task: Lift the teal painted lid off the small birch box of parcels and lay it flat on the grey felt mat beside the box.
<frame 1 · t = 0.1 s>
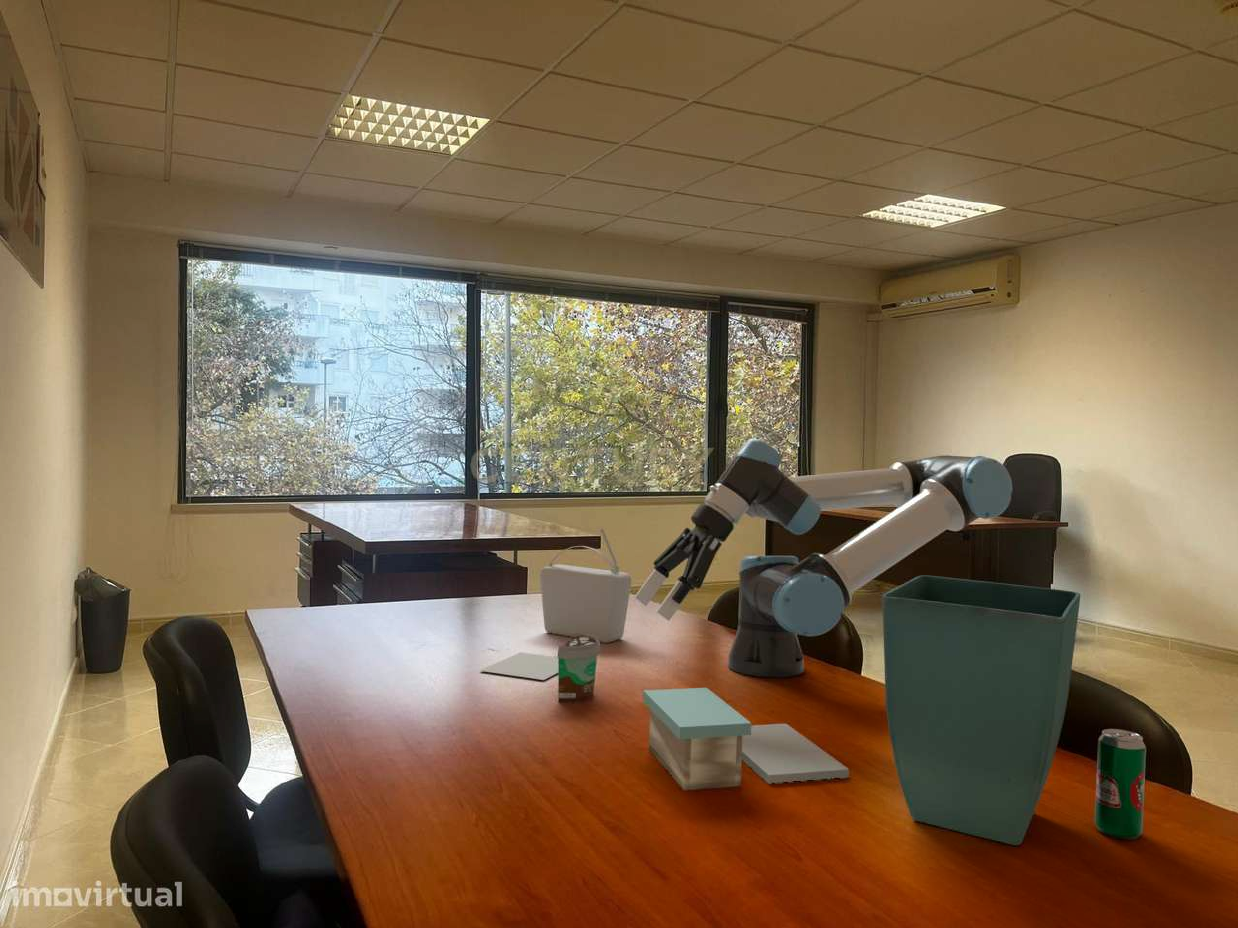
hand: (650, 608, 162), 15 cm above the table, tool tilted 35°, fingers open, 13 cm apart
flower pot: (974, 819, 112), on the table
box: (692, 766, 127), on the table
mat: (777, 755, 132), on the table
lid: (693, 717, 127), point 7 cm above the table, touching box
soda can: (1117, 833, 109), on the table
paper stack: (520, 662, 184), on the table
food container: (582, 697, 159), on the table
radio: (584, 636, 208), on the table
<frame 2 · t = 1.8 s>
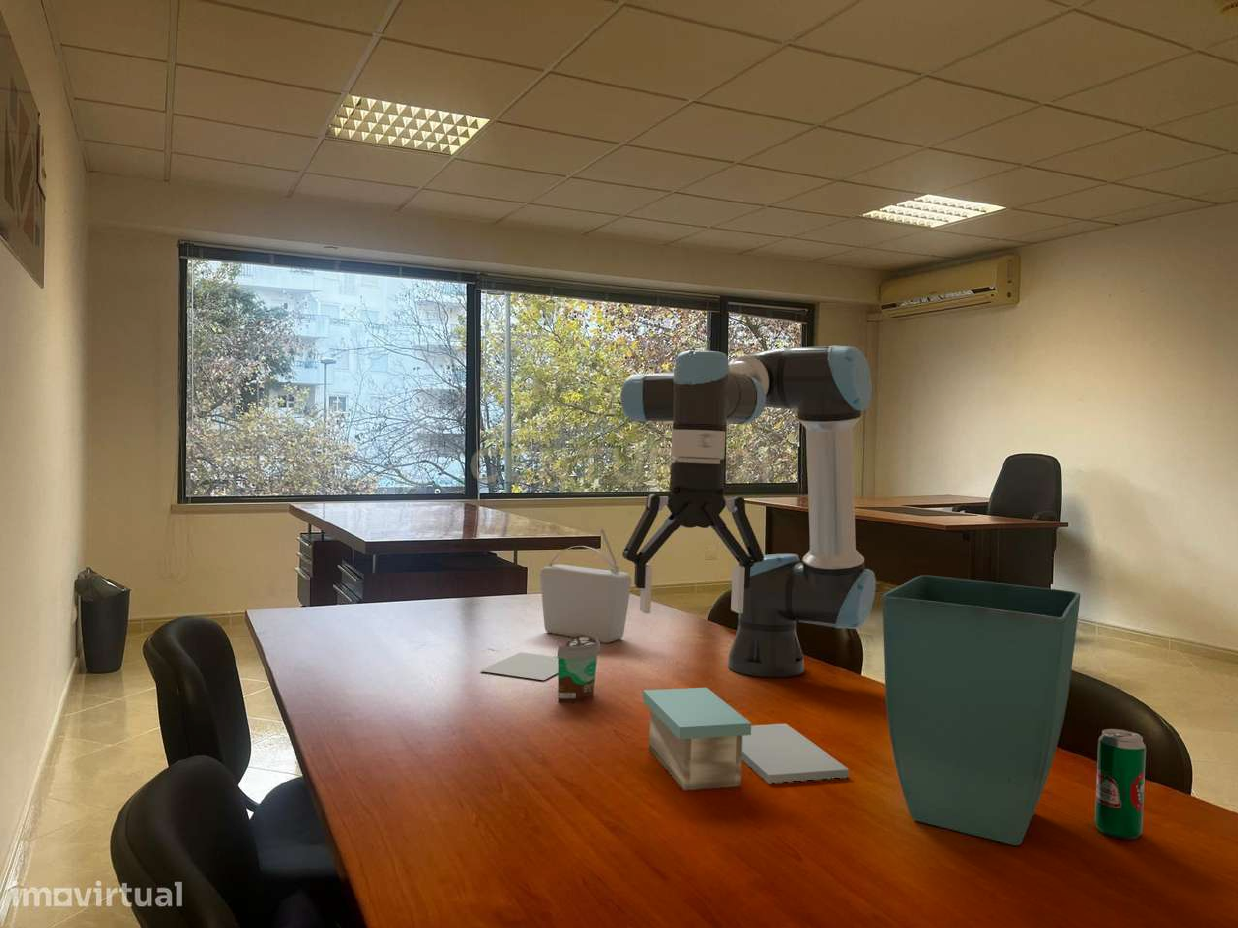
hand: (691, 611, 127), 22 cm above the table, tool pointing down, fingers open, 13 cm apart
nothing on the table moved.
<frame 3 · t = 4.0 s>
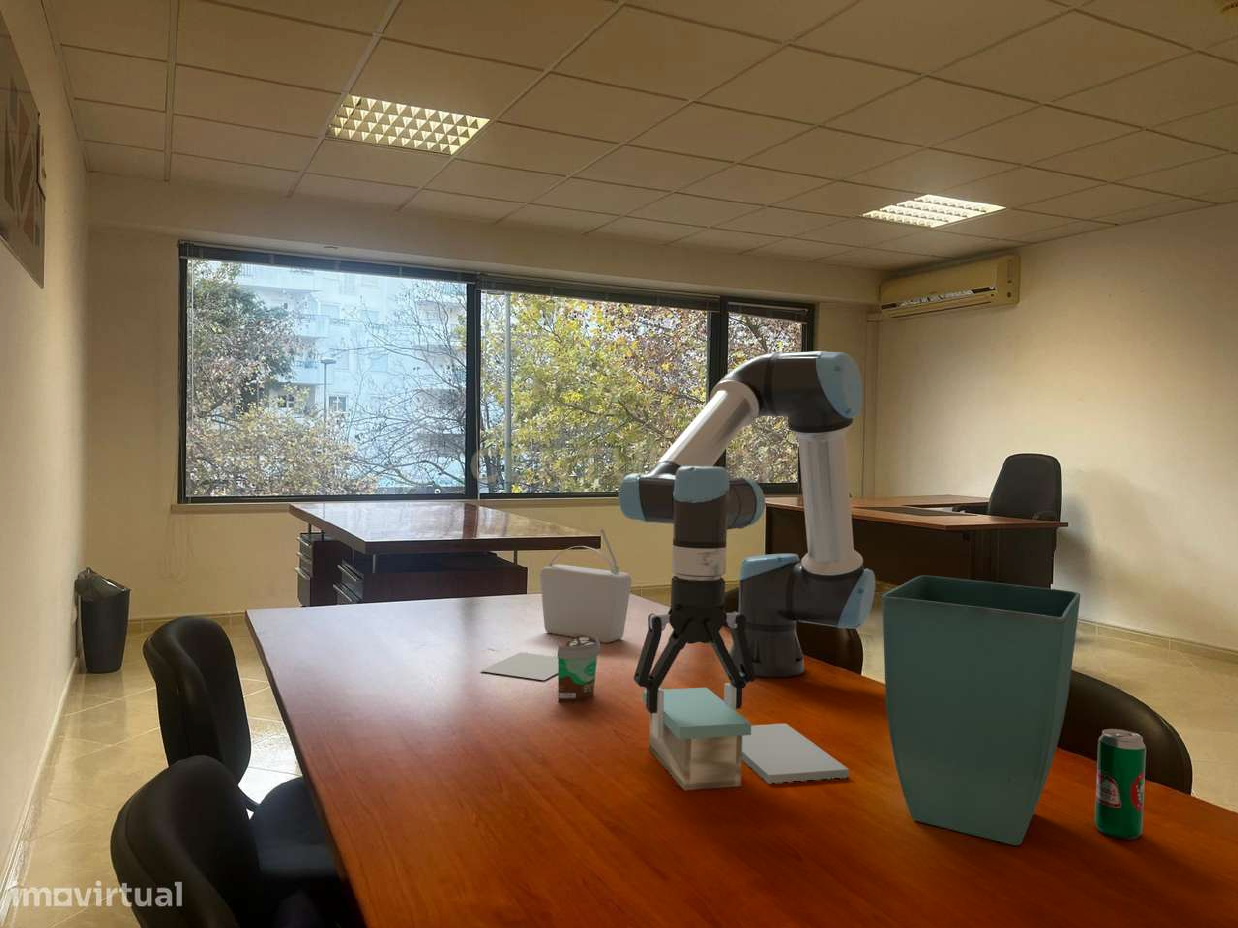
hand: (693, 732, 127), 5 cm above the table, tool pointing down, fingers closed on lid, 10 cm apart
lid: (693, 717, 127), point 7 cm above the table, touching box, gripper
everything else where it was.
when the fingers open (2 cm above the table, at t = 10.6 s): lid drops 3 cm, resting on mat.
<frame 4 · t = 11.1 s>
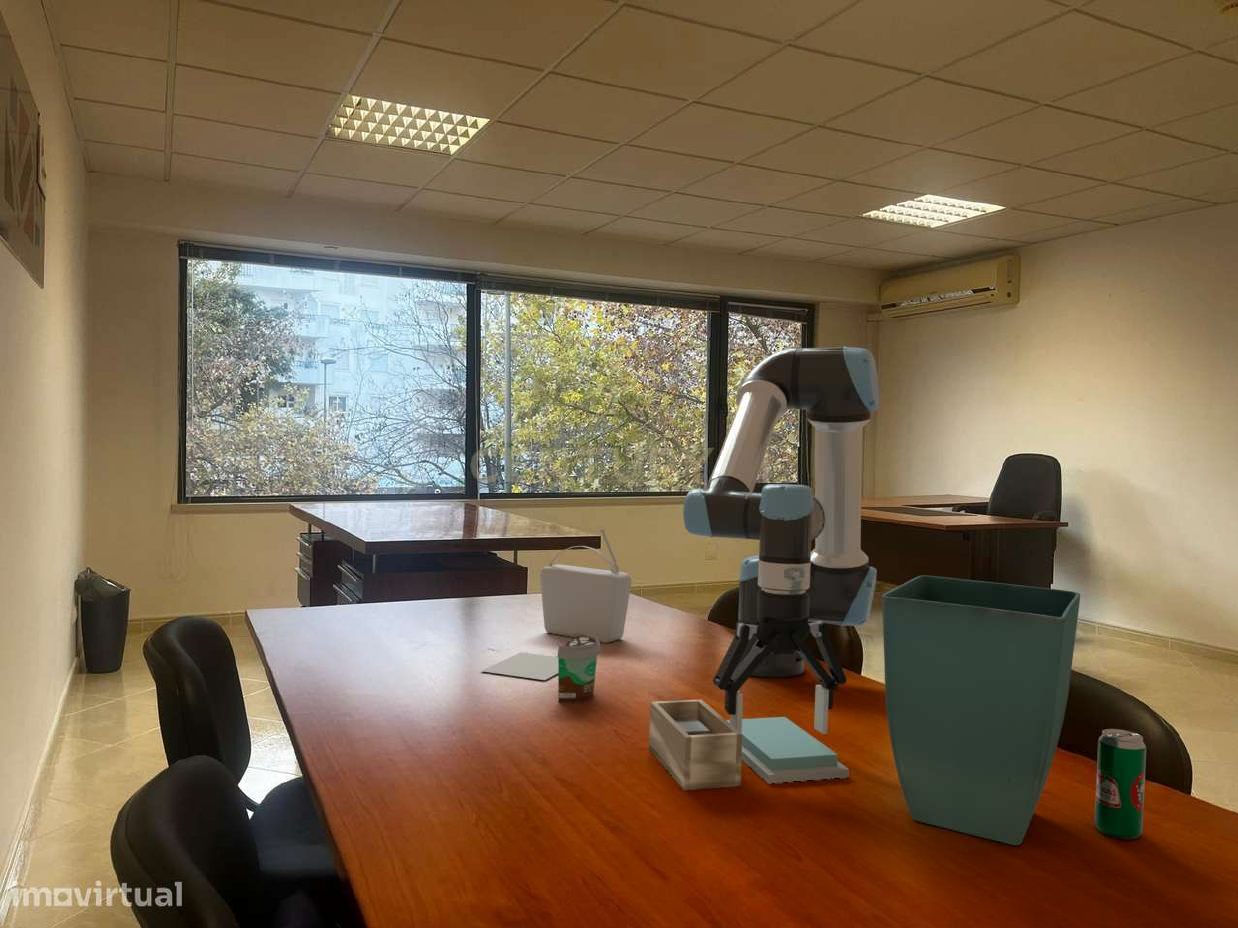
hand: (778, 733, 132), 3 cm above the table, tool pointing down, fingers open, 13 cm apart
lid: (778, 747, 132), point 1 cm above the table, touching mat
everything else where it was.
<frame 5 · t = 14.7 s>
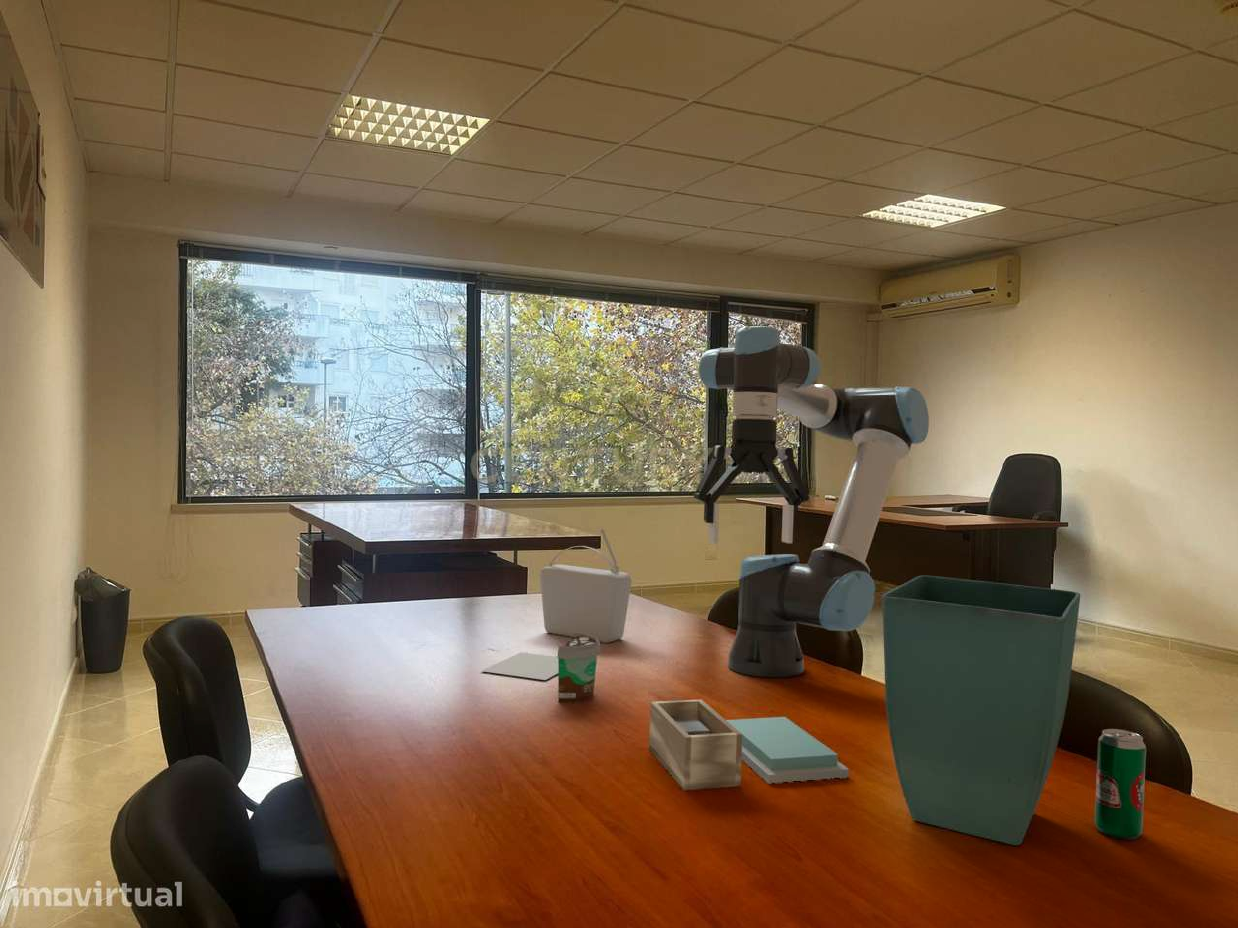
hand: (750, 542, 154), 29 cm above the table, tool pointing down, fingers open, 13 cm apart
nothing on the table moved.
at the end: lid inside the target area on the mat (0.0 cm from its centre), point 1.2 cm above the mat's base; lid tilted 0°; the gripper is holding nothing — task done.
